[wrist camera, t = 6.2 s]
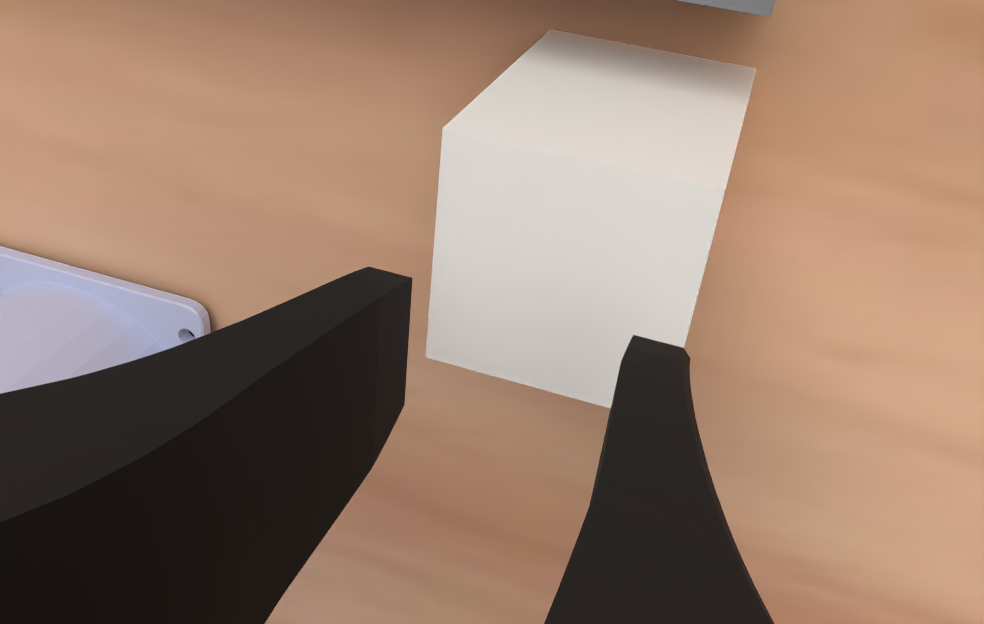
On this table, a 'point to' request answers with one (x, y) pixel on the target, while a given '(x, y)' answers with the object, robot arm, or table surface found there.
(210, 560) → the robot arm
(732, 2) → the socket plate
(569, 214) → the plug
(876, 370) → the table surface
